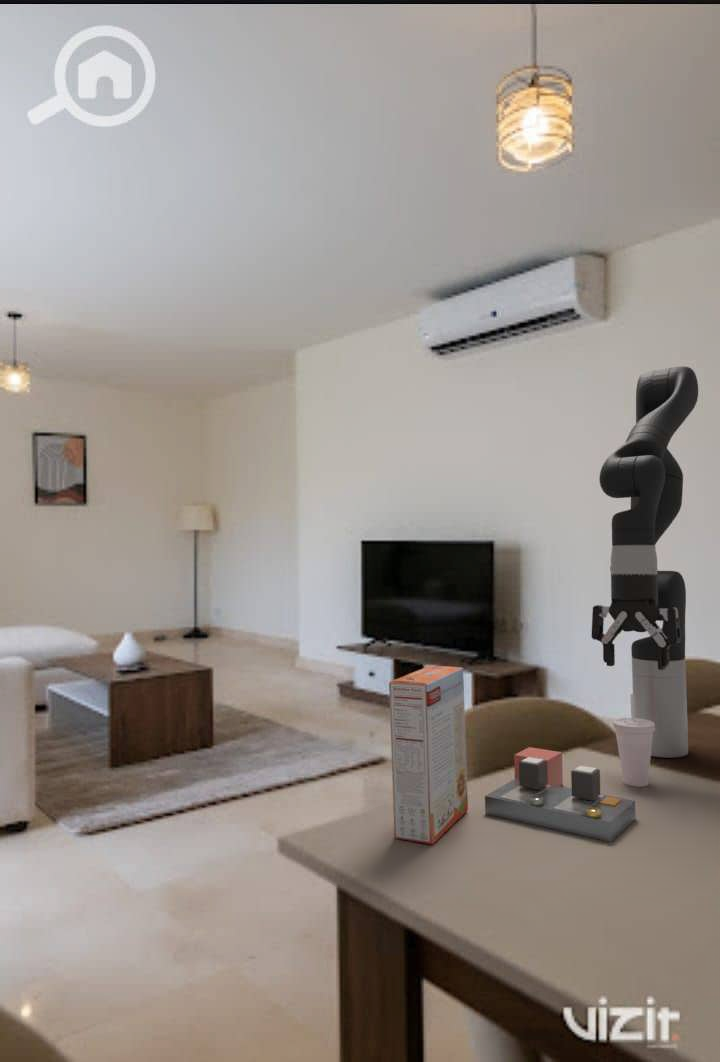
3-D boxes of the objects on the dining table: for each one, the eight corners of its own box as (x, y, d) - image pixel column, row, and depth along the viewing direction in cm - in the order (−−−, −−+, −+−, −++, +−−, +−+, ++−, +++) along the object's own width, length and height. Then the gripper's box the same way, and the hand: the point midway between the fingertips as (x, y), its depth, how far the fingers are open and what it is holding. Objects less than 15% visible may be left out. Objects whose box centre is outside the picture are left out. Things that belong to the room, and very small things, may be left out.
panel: (516, 794, 114) (515, 773, 114) (635, 818, 103) (634, 794, 103) (485, 813, 106) (484, 790, 106) (610, 841, 95) (610, 815, 95)
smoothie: (650, 777, 122) (648, 691, 122) (662, 789, 115) (659, 699, 116) (610, 776, 122) (608, 691, 123) (619, 789, 116) (617, 699, 116)
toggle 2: (579, 790, 107) (579, 764, 107) (600, 794, 105) (599, 768, 105) (571, 796, 105) (571, 769, 105) (592, 800, 103) (592, 773, 103)
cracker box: (430, 805, 110) (427, 664, 111) (469, 811, 107) (466, 666, 108) (389, 839, 98) (386, 679, 98) (432, 846, 95) (429, 682, 95)
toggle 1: (528, 780, 112) (527, 756, 112) (547, 784, 110) (546, 759, 110) (519, 786, 110) (518, 760, 110) (538, 789, 108) (537, 764, 108)
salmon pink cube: (530, 778, 122) (529, 747, 122) (562, 784, 119) (561, 752, 119) (515, 787, 118) (514, 754, 118) (548, 793, 114) (547, 760, 115)
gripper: (683, 572, 126) (685, 668, 125) (600, 572, 135) (601, 662, 134) (671, 572, 120) (673, 673, 119) (585, 572, 129) (586, 666, 128)
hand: (635, 667), depth 126 cm, fingers open, 8 cm apart
